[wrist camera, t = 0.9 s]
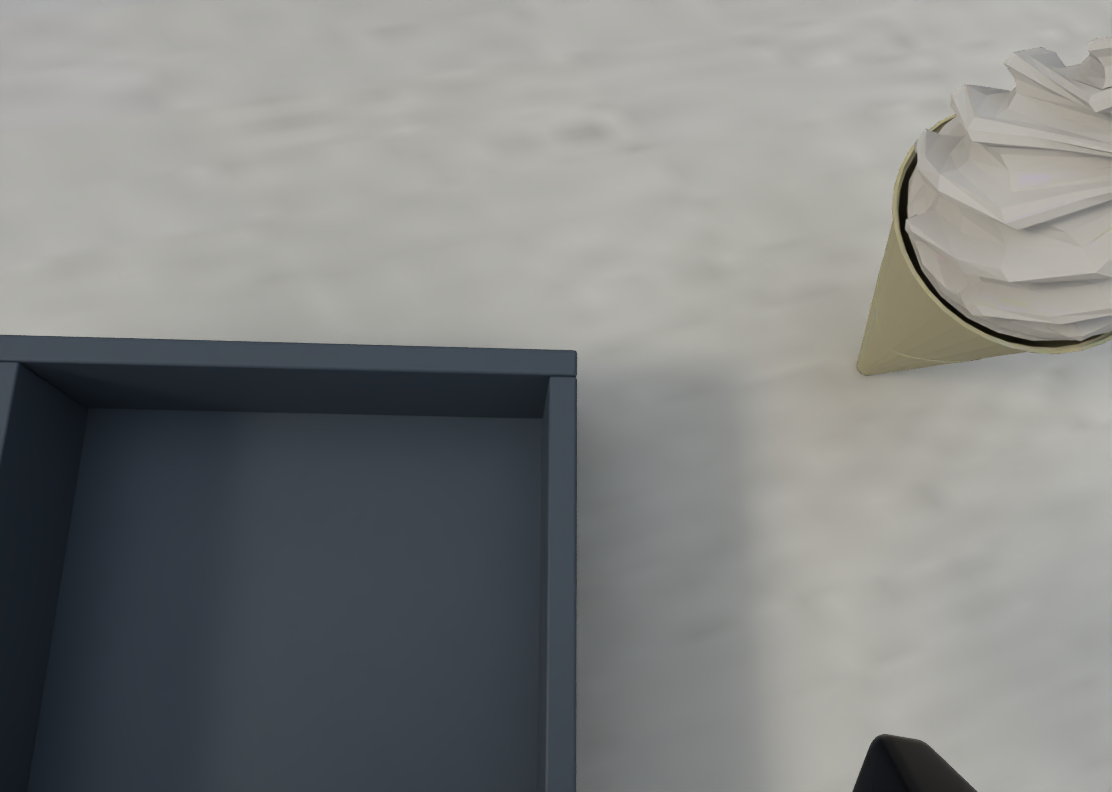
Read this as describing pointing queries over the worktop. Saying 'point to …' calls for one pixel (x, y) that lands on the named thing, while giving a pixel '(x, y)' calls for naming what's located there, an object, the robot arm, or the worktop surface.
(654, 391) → the worktop surface
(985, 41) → the worktop surface
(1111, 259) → the ice cream cone
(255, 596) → the tub
